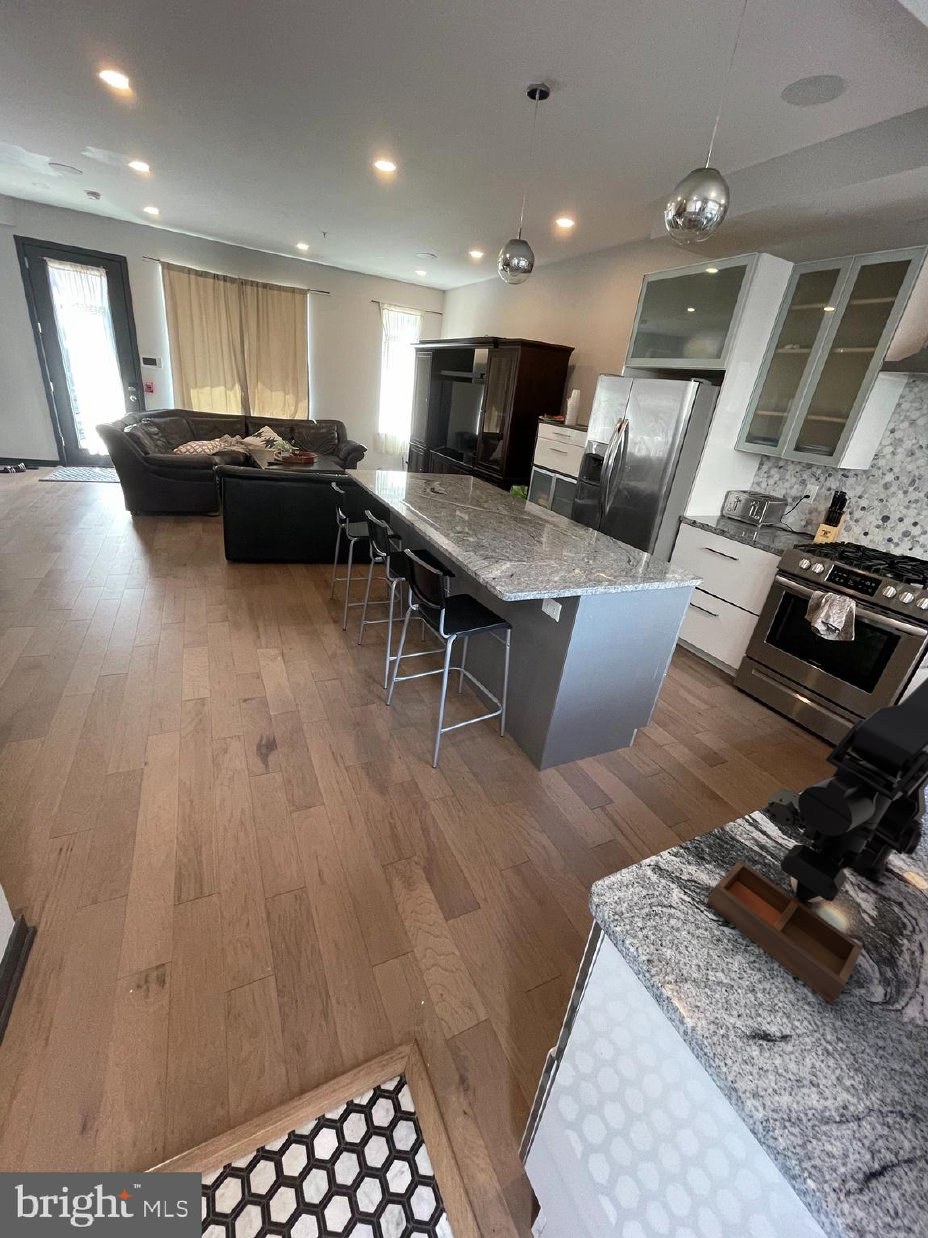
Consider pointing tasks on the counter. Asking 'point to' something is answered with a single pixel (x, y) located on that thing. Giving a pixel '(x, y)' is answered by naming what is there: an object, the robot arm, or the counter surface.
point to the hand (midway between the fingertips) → (805, 890)
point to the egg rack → (786, 930)
